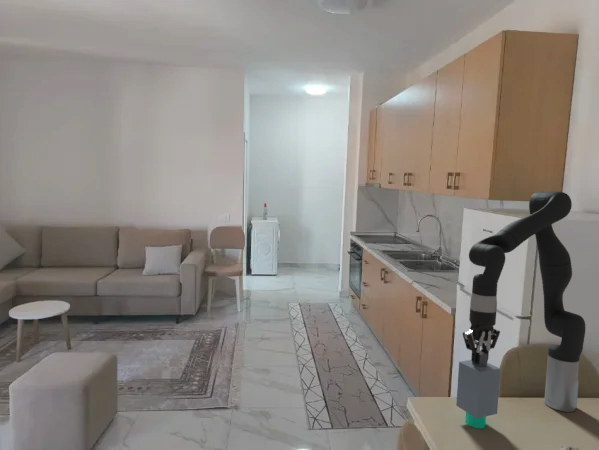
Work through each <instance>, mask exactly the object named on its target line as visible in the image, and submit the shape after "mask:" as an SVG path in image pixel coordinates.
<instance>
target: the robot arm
mask: <svg viewBox="0 0 599 450" xmlns="http://www.w3.org/2000/svg"><path fill="white" fill-rule="evenodd" d="M572 206H573V204H572V199H571V196H570V195H569V194H568V193H566V192H564V191H537V192H534V193H533V194H532V195H531V196H530V198H529V203H528V209H529V211H528V212H529V215H526V216H524V217H521V218H519V219H517V220H514V221H513V222H512V221H511V222H509V223H508V224H507V225H505V226H504V227H503V228H501V229H500V230H499V231H498V232H497V233H496V234H492V235H491V236H488V237H486V238H484V239H481V240H479V241H477V242H476V243H474V244H473V245H472V247H470V250H469V253H468V258H469V261H470V262H471V263H472V264H473V265H475V266H479V267H484V270H483V273H477V274H475V275H474V276H473V278H472V285H471V286H472V288H471V289H472V290H471V297H470V304H469V305H470V306H469V317H468V318H469V319H468V320H469V322H470V327H469V331H467V332H465V331H463V332H462V338H463V341H464V344H465V348H466V349H467V350H470V351H471V359H470V360H472V362H473V363H475V364H479V354H480V353H479V351H482V352H484V353H487V354H488V356H487V363H489V362H488V361H489V353H490V351H491V350H492V349H494V348H495V347H496V344H497V341H498V339H499V336H500V334H501V331H500V330H499V329H496V328H494V326H495V325H496V321H497V309H498V296H497V295H498V294H497V293H498V283H499V280H500V277H501V274H502V272H503V269H504V265H505V263H506V254H508V253H510V252H512V251H514V250H515V249H516V248H517V247H519V246H521V244H522V243H524V242H526V240H528V239H529V238H530V237H533V236H535V240H536V246H537V251H538V252H537V253H538V254H537V255H538V259H539V261H538V262H539V263H538V264H539V271H540V274H541V275H540V276H541V282H542V283H541V284H542V291H543V314H544V315H543V317H544V318H543V320H544V326H545V329H546V330H547V332H548V333H550V334H551V335H553V336H557V337H558V338H561V341H560V344H553V345H550V346H549V347H548V350H547V361H546V375H545V376H546V377H545V389H544V400H543V401H544V404H545V405H546V406H547V407H549V408H551V409H553V410H557V411H559V412H564V413H566V412H567V413H572V412H575V410H576V408H577V406H578V395H579V393H578V392H579V383H580V381H579V380H578V378H579V367H580V358H581V355H582V352H583V349H584V343H585V337H586V321H585V319H584V318H583V316H581V315H579V314H578V313H577V314H576V313H574V312H570V311H567V310H565V307H564V302H563V299H564V297H563V295H564V292H565V290H566V289H567V288H568V286H569V284H570V282H571V280H572V277H573V268H572V261H571V256H570V253H569V251H568V249H567V248H566V247H565V245H564V244H563V243H562V241H561V240H560V239H559V238H558V236H557V235H556V233H555V231H554V227H553V224H555V223H557V222H559V221H561V220H563V219H564V218H566V217H567V216H568V215H569V214H570V212H571V210H572V208H573V207H572Z"/></svg>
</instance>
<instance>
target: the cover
mask: <svg viewBox="0 0 599 450" xmlns="http://www.w3.org/2000/svg"><path fill="white" fill-rule="evenodd" d="M479 353H480V354H479V364H475V363H473V362H472V360H471V359H468V360H462V361H459V362H458V372H457V373H458V376H457V389H456V390H457V391H456V404H455V405H456V407H458V408H459V409H461V410H463V411H464V412H465V413H466V412H467V413H469V414H470V415H472V416H474V417H475V418H481V417H486V418H487V417H489V416H493V415H497V414H498V408H499V407H498V405H499V395H500V394H499V392H500V390H499V389H500V379H501V368H500V367H498V366H497V365H493V364H491V363H489V362H487V356H488V354H487V353H484V352H482V351H481V350H480V351H479ZM488 357H489V356H488Z"/></svg>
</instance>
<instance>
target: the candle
mask: <svg viewBox="0 0 599 450" xmlns="http://www.w3.org/2000/svg"><path fill="white" fill-rule="evenodd" d="M486 421H487V416H486V417H481V418H475V417H474V416H472V415H470V414H469V413H467V412H466V411H465V424H467V426H470V427H472V428H475V429H484V428H486V423H487V422H486Z"/></svg>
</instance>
